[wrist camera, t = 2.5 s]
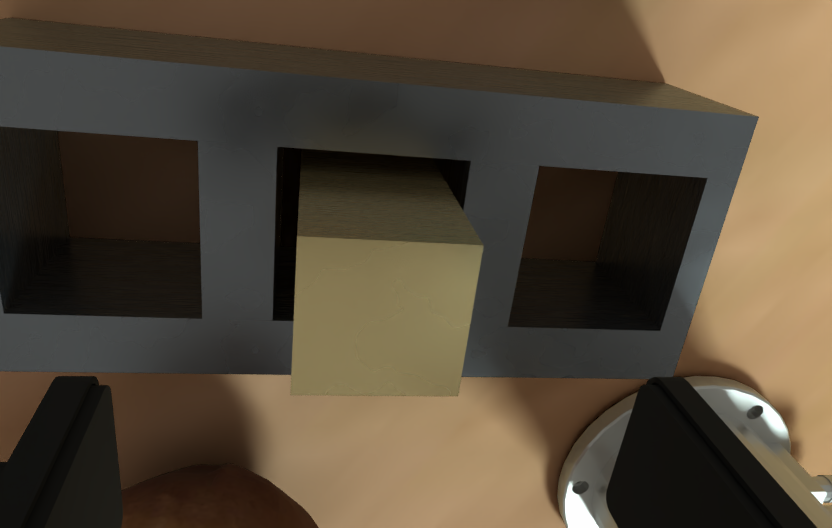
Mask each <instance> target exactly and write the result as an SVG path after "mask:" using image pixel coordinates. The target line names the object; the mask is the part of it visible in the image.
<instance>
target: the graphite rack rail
mask: <svg viewBox="0 0 832 528" xmlns="http://www.w3.org/2000/svg"><path fill="white" fill-rule="evenodd" d="M758 118H759V117H758V116H755V115H752V114H750V113H747V112H744V111H741V110H738V109H736V108H733V107H730V106H727V105H725V104H722V103H719V102H716V101H713V100H711V99H708V98H705V97H702V96H700V95H697V94H694V93H691V92H688V91H686V90H683V89H680V88H677V87H675V86H672V85H669V84H666V83H656V82H646V81H636V80H626V79H616V78H606V77H596V76H586V75H576V74H566V73H556V72H546V71H536V70H526V69H516V68H506V67H496V66H486V65H476V64H466V63H456V62H446V61H436V60H426V59H416V58H406V57H396V56H386V55H376V54H367V53H357V52H347V51H337V50H327V49H317V48H307V47H297V46H287V45H277V44H267V43H257V42H247V41H237V40H227V39H217V38H207V37H197V36H187V35H177V34H167V33H157V32H147V31H137V30H127V29H117V28H107V27H97V26H87V25H77V24H67V23H57V22H47V21H37V20H27V19H17V18H5V19H0V371H25V372H107V373H190V374H273V375H291V371H292V347H293V323H294V299H295V275H296V250H297V248H290V247H280V246H281V213H282V180H283V147H289V148H302V149H316V150H330V151H343V152H357V153H371V154H385V155H398V156H412V157H426V158H432V159H433V161H434V163H435V164H436V166H437V168H438V169H439V171H440V173H441V174H442V176H443V178H444V179H445V181H446V183H447V184H448V186H449V188H450V190H451V191H452V193H453V195H454V196H455V198H456V200H457V201H458V203H459V205H460V206H461V208H462V210H463V211H464V213H465V215H466V217H467V218H468V220H469V222H470V223H471V225H472V227H473V228H474V230H475V232H476V233H477V235H478V237H479V238H480V240H481V242H482V243H483V245H484V246H483V252H482V258H481V264H480V270H479V276H478V282H477V287H476V293H475V299H474V305H473V311H472V317H471V323H470V329H469V334H468V340H467V346H466V352H465V358H464V364H463V370H462V376H461V377H522V378H605V379H650V378H653V377H673V375H674V372H675V369H676V366H677V363H678V360H679V357H680V354H681V351H682V348H683V345H684V342H685V339H686V336H687V332H688V329H689V326H690V323H691V320H692V317H693V314H694V311H695V308H696V305H697V302H698V299H699V296H700V293H701V290H702V287H703V284H704V281H705V278H706V275H707V272H708V269H709V266H710V263H711V260H712V257H713V254H714V251H715V248H716V245H717V242H718V239H719V236H720V233H721V230H722V227H723V224H724V221H725V217H726V214H727V211H728V208H729V205H730V202H731V199H732V196H733V193H734V190H735V187H736V184H737V181H738V178H739V175H740V172H741V169H742V166H743V163H744V160H745V157H746V154H747V151H748V148H749V145H750V142H751V139H752V136H753V133H754V130H755V127H756V124H757V121H758ZM57 131H69V132H83V133H97V134H111V135H124V136H138V137H152V138H165V139H179V140H193V141H198V169H199V209H200V243H182V242H160V241H139V240H117V239H96V238H74V237H69V229H68V220H67V211H66V202H65V194H64V185H63V176H62V168H61V159H60V150H59V141H58V133H57ZM539 166H549V167H563V168H576V169H590V170H604V171H618V175H617V179H616V183H615V187H614V191H613V195H612V199H611V203H610V207H609V211H608V215H607V219H606V223H605V227H604V231H603V235H602V239H601V243H600V247H599V251H598V255H597V259H596V262H593V261H572V260H550V259H529V258H521V256H522V251H523V246H524V241H525V236H526V231H527V226H528V221H529V216H530V211H531V206H532V201H533V196H534V191H535V185H536V180H537V175H538V170H539Z"/></svg>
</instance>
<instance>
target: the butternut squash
mask: <svg viewBox="0 0 832 528" xmlns="http://www.w3.org/2000/svg"><path fill="white" fill-rule="evenodd" d="M121 493H122V503H123V519H122V526H121V528H318V526H317V525H316V523H315V522H314V520H313V519H312V518H311V516H310V515H309V514H308V513H307V512H306V510H305V509H304V508H303V507H302V506H300V505H299V504H298V503H297V502H295V501H294V500H293V499H292V498H290V497H289V496H288V495H287V494H285V493H284V492H283V491H282V490H280V489H279V488H278V487H276V486H275V485H274V484H272V483H271V482H270V481H268V480H267V479H265V478H263V477H261V476H259V475H257V474H255V473H253V472H251V471H249V470H246V469H244V468H242V467H239V466H237V465H234V464H231V463H230V464H225V465H194V466H190V467H186V468H183V469H180V470H177V471H173V472H170V473H167V474H163V475H160V476H157V477H155V478H152V479H149V480H146V481H144V482H141V483H139V484H136V485H134V486H132V487H130V488H127V489H125V490H123V491H121Z"/></svg>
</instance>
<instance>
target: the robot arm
mask: <svg viewBox="0 0 832 528" xmlns="http://www.w3.org/2000/svg"><path fill="white" fill-rule="evenodd" d="M790 452H791V442H790V437H789V432H788V428H787V426H786V424H785V422H784V420H783V418H782V416H781V415H780V413H779V412H778V411H777V410H776V409H775V408H774V407H773V406H772V405H771V404H770V403H769V402H768V401H767V400H766V399H765V398H764V397H763V396H762V395H760V394H759V393H758V392H757V391H755V390H754V389H753V388H751V387H749V386H747V385H744V384H742V383H740V382H738V381H735V380H731V379H726V378H721V377H716V376H691V377H685V378H682V377H653V378H650V379H649V380H648V382H647V384H646V385H642V386H641V387H640V389H639V391H638V392H636V393H634V394H632V395H630V396H628V397H626V398H624V399H623V400H621V401H620V402H618V403H617V404H615V405H614V406H612V407H611V408H609V409H608V410H607V411H605V412H604V413H603V414H602V415H601V416H600V417H599V418H597V419H596V420H595V421H594V422H593V423H592V424H591V425H590V426H589V427H588V428H587V429H586V430H585V432H584V433H583V434H582V435H581V436H580V438H579V439H578V440H577V441H576V443H575V444H574V446H573V447H572V449H571V451H570V453H569V455H568V456H567V458H566V460H565V462H564V465H563V468H562V471H561V474H560V477H559V482H558V494H557V498H558V504H559V510H560V514H561V516H562V519H563V521H564V523H565V526H566V528H832V505H822V503H823V502H824V503H829V502H832V475H818V476H816V477H811V476H810V475H809V474H808V473H807V472H806V470H805V469H804V468H803V467H802V466H801V465H800V464H799V463H798V462H797V461H796V460H795V459H794V458H793V457H792V456H791V455H790ZM122 519H123V503H122V493H121V484H120V474H119V464H118V454H117V445H116V435H115V425H114V415H113V405H112V396H111V389H110V387H109V386H108V385H99V382H98V380H97V378H96V377H95V376H58V377H56V378H55V379H54V380H53V382H52V383H51V385H50V387H49V389H48V391H47V392H46V394H45V396H44V398H43V400H42V401H41V403H40V405H39V407H38V408H37V410H36V412H35V414H34V416H33V417H32V419H31V421H30V423H29V425H28V426H27V428H26V430H25V432H24V433H23V435H22V437H21V439H20V441H19V442H18V444H17V446H16V448H15V450H14V451H13V453H12V455H11V457H10V458H9V460H8V462H0V528H121V526H122Z"/></svg>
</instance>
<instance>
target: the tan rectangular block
mask: <svg viewBox="0 0 832 528" xmlns="http://www.w3.org/2000/svg"><path fill="white" fill-rule="evenodd" d="M483 246H484V245H483V243H482V242H481V240H480V238H479V237H478V235H477V233H476V232H475V230H474V228H473V227H472V225H471V223H470V222H469V220H468V218H467V217H466V215H465V213H464V211H463V210H462V208H461V206H460V205H459V203H458V201H457V200H456V198H455V196H454V195H453V193H452V191H451V190H450V188H449V186H448V184H447V183H446V181H445V179H444V178H443V176H442V174H441V173H440V171H439V169H438V168H437V166H436V164H435V163H434V161H433V159H432V158H426V157H412V156H398V155H385V154H371V153H357V152H343V151H330V150H316V149H302V154H301V172H300V191H299V210H298V229H297V250H296V275H295V299H294V323H293V347H292V371H291V395H340V396H458V393H459V387H460V382H461V376H462V370H463V364H464V358H465V352H466V346H467V340H468V334H469V329H470V323H471V317H472V311H473V305H474V299H475V293H476V287H477V282H478V276H479V270H480V264H481V258H482V252H483Z"/></svg>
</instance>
